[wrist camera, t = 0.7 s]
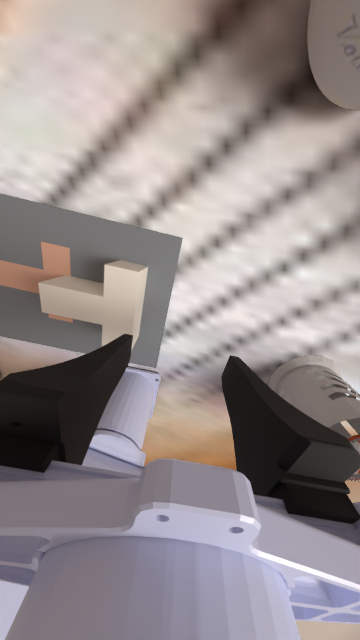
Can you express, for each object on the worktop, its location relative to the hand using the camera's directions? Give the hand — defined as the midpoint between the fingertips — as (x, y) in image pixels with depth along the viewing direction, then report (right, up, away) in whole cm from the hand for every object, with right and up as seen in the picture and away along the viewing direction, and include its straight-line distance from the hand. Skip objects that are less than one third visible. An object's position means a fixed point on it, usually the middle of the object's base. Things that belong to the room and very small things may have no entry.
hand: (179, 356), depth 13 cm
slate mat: (-12, +6, +8) cm, 16 cm away
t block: (-9, +5, +8) cm, 13 cm away
